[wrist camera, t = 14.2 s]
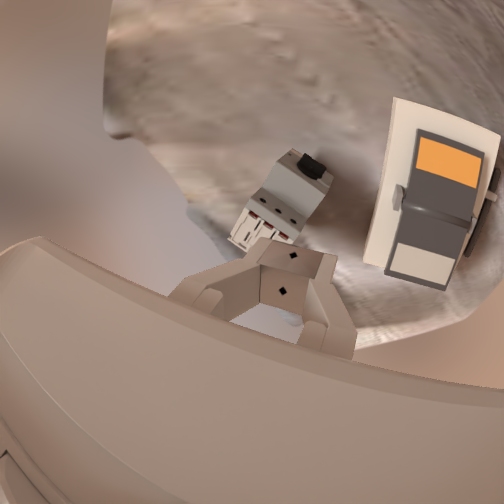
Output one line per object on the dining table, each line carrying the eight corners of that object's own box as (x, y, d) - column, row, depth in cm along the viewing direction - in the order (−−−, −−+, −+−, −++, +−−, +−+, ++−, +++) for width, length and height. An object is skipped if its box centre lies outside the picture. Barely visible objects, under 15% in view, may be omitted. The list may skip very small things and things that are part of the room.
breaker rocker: (414, 128, 27) (416, 127, 26) (482, 152, 24) (486, 153, 23) (382, 269, 36) (383, 275, 34) (444, 287, 32) (446, 292, 31)
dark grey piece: (488, 151, 27) (492, 154, 26) (503, 158, 26) (507, 161, 25) (455, 251, 39) (456, 257, 38) (468, 255, 38) (470, 261, 37)
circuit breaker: (343, 161, 40) (328, 196, 29) (298, 221, 50) (270, 270, 39) (304, 135, 40) (272, 158, 29) (265, 198, 50) (226, 240, 39)
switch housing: (393, 96, 31) (399, 98, 24) (486, 128, 26) (511, 141, 19) (365, 242, 46) (360, 275, 39) (442, 264, 41) (449, 300, 34)
